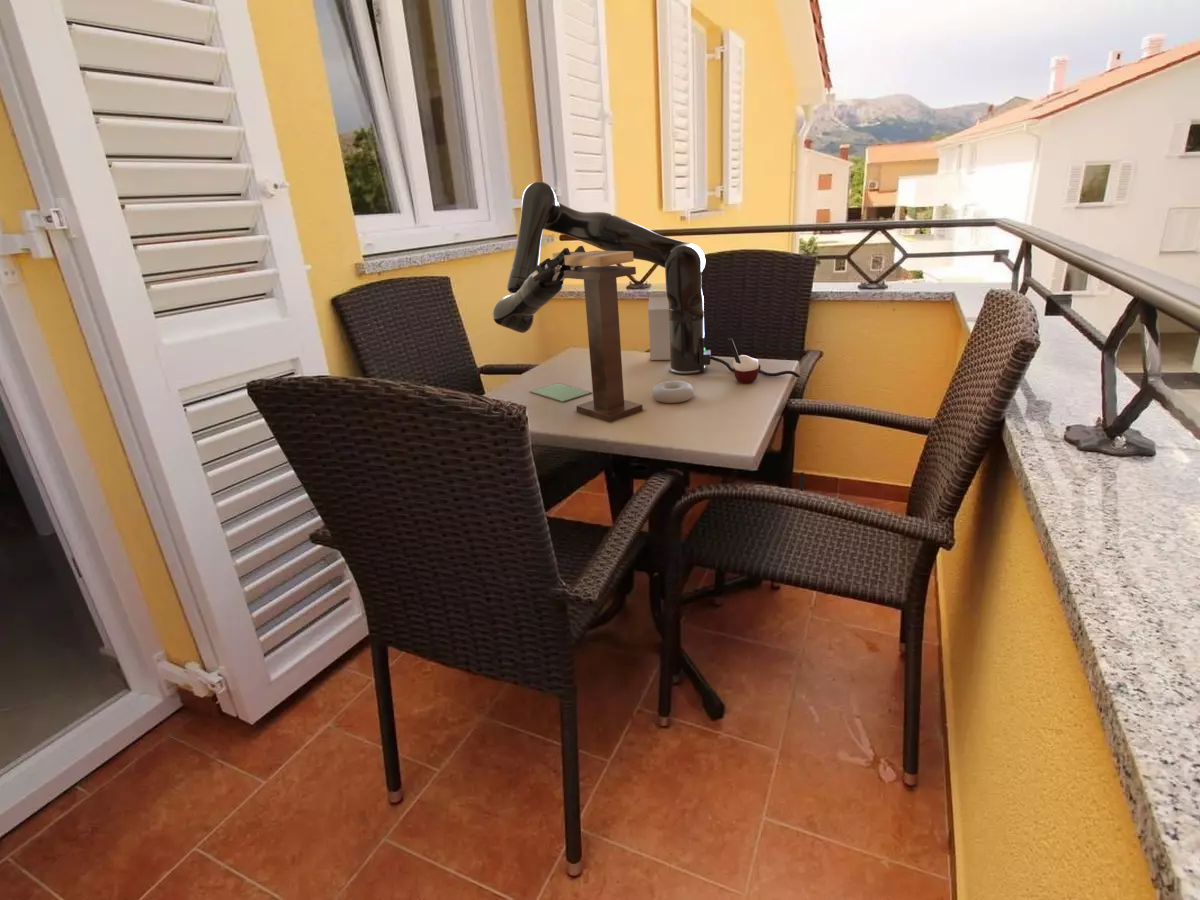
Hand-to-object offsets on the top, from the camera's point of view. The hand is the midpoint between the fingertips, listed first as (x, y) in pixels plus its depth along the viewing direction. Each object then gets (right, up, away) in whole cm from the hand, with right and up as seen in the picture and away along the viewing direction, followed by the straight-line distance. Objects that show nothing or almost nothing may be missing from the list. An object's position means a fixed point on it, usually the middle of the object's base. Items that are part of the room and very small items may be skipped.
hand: (575, 250), depth 137 cm
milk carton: (+24, -16, +51) cm, 59 cm away
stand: (+8, -35, +8) cm, 36 cm away
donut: (+23, -31, +13) cm, 41 cm away
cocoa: (+42, -27, +22) cm, 54 cm away
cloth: (-5, -29, +25) cm, 38 cm away
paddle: (+3, -3, -2) cm, 5 cm away
